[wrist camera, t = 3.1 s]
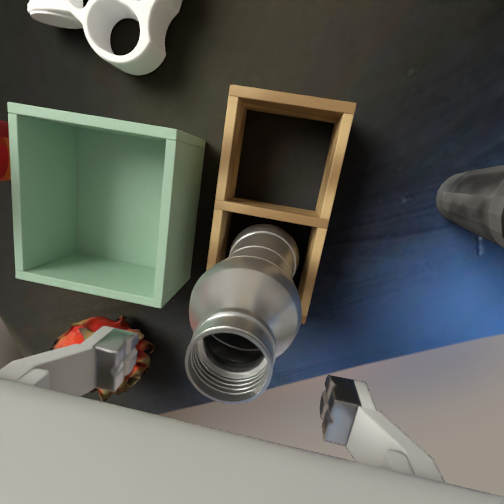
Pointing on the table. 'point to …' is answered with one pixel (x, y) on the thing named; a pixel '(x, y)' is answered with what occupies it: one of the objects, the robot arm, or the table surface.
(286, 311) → the silver metal bottle
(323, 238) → the rack
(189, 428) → the robot arm
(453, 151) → the table surface
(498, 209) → the beverage cup
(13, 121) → the open storage box
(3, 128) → the paper cup
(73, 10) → the knuckle duster
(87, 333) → the dragon fruit
